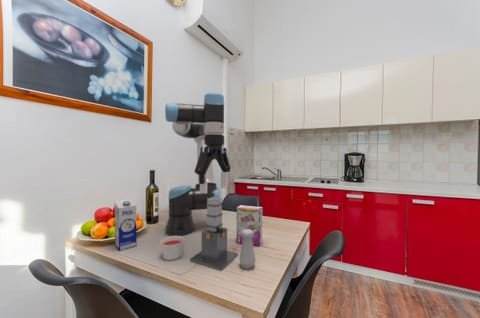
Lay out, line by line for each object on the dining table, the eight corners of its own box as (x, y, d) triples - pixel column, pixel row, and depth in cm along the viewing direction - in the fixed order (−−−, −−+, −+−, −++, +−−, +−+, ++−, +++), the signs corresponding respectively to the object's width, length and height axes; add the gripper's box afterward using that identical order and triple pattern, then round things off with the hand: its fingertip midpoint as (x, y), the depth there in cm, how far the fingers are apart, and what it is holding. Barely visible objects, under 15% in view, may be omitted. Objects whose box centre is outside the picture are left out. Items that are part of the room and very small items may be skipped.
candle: (165, 250, 85) (165, 235, 85) (187, 250, 85) (187, 235, 85) (156, 261, 76) (156, 245, 76) (180, 262, 76) (180, 245, 76)
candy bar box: (236, 243, 92) (235, 207, 92) (239, 239, 97) (239, 204, 96) (260, 246, 88) (260, 209, 88) (262, 242, 93) (262, 206, 93)
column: (206, 256, 77) (206, 199, 77) (213, 251, 81) (213, 196, 81) (216, 259, 75) (216, 200, 75) (222, 253, 79) (222, 197, 79)
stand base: (190, 261, 76) (189, 229, 76) (209, 248, 87) (209, 220, 87) (221, 271, 70) (221, 235, 70) (237, 255, 80) (237, 225, 80)
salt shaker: (238, 262, 76) (238, 227, 75) (254, 261, 76) (254, 227, 76) (240, 271, 70) (240, 233, 70) (256, 270, 70) (256, 233, 70)
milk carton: (132, 241, 94) (131, 198, 94) (137, 245, 89) (136, 200, 89) (114, 246, 89) (114, 200, 89) (118, 251, 84) (118, 203, 84)
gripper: (201, 130, 65) (201, 196, 65) (238, 137, 87) (238, 186, 87) (183, 131, 68) (184, 194, 68) (223, 137, 90) (223, 185, 90)
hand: (214, 190), depth 78 cm, fingers open, 13 cm apart
